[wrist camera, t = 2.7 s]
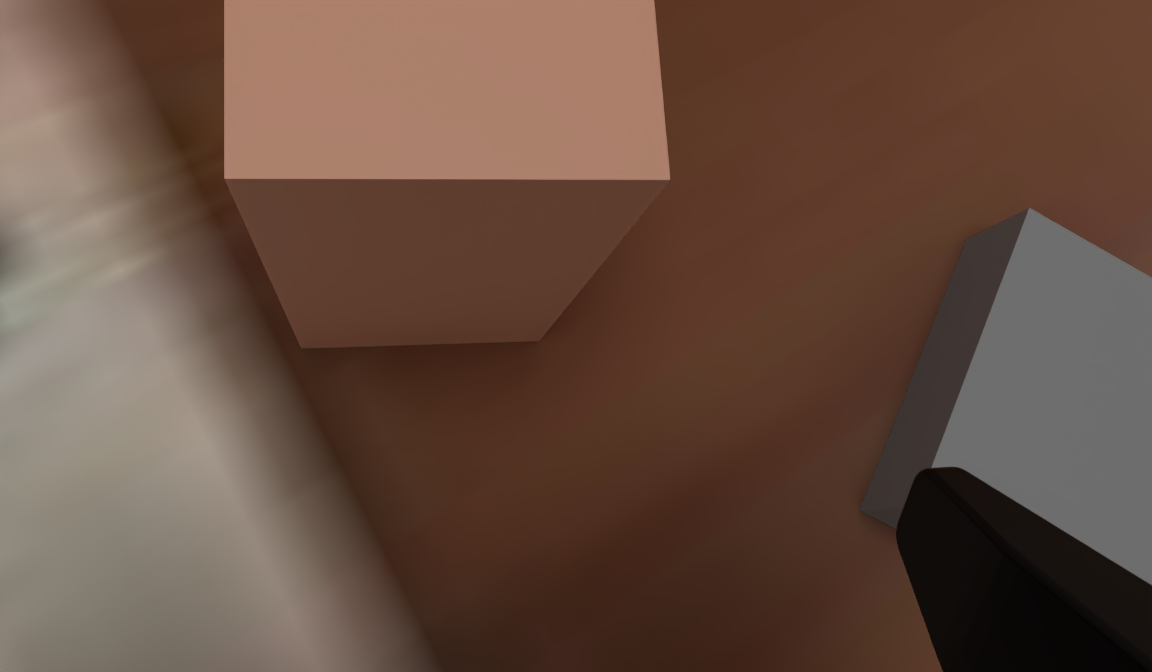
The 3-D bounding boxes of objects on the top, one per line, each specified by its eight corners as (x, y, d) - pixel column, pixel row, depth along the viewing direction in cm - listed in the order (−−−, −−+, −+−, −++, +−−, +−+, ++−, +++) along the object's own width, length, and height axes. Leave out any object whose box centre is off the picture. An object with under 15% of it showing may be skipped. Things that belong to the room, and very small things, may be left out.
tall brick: (539, 341, 23) (669, 180, 13) (301, 348, 22) (224, 177, 11) (525, 125, 24) (636, -193, 14) (298, 122, 23) (224, -227, 12)
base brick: (1118, 652, 25) (1215, 667, 22) (852, 510, 24) (916, 507, 21) (1201, 380, 27) (1299, 362, 24) (958, 243, 26) (1029, 208, 23)
